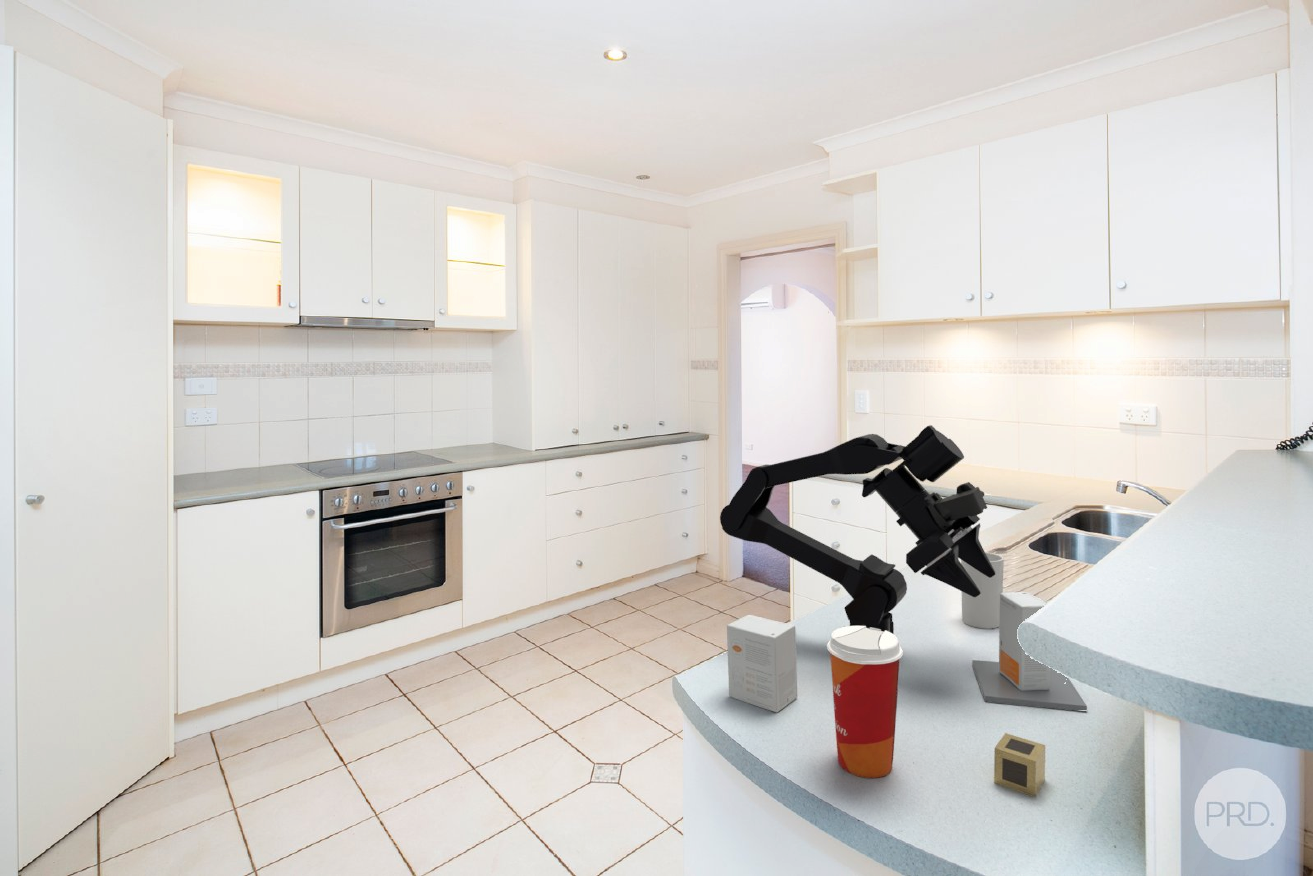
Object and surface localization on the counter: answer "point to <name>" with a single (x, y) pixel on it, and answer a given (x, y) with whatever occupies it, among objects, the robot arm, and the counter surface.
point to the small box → (762, 662)
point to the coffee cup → (865, 698)
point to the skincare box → (1011, 654)
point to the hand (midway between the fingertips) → (985, 585)
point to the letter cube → (1019, 764)
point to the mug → (984, 595)
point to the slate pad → (1006, 692)
